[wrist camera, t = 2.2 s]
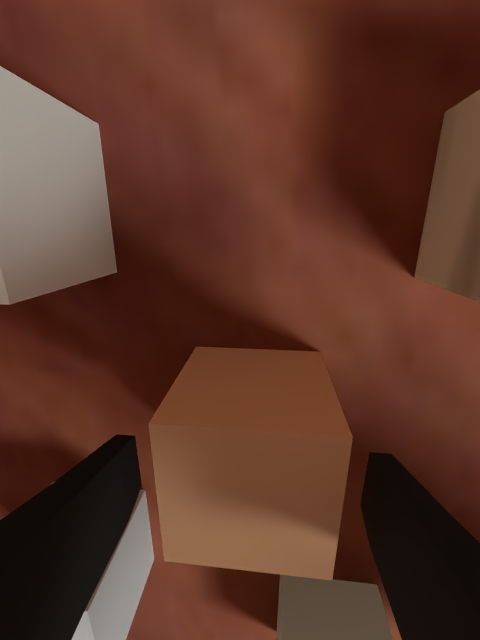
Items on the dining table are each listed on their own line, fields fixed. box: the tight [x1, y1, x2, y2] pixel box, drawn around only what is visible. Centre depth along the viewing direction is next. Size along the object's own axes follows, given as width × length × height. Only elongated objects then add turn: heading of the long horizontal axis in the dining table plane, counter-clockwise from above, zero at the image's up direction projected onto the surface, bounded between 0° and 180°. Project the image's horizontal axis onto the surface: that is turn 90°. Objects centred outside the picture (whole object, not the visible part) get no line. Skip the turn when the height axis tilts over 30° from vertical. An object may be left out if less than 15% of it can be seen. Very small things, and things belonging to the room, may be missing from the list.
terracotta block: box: [148, 347, 353, 580], centre depth 10 cm, size 5×5×5 cm
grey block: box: [50, 481, 154, 640], centre depth 14 cm, size 5×5×5 cm
